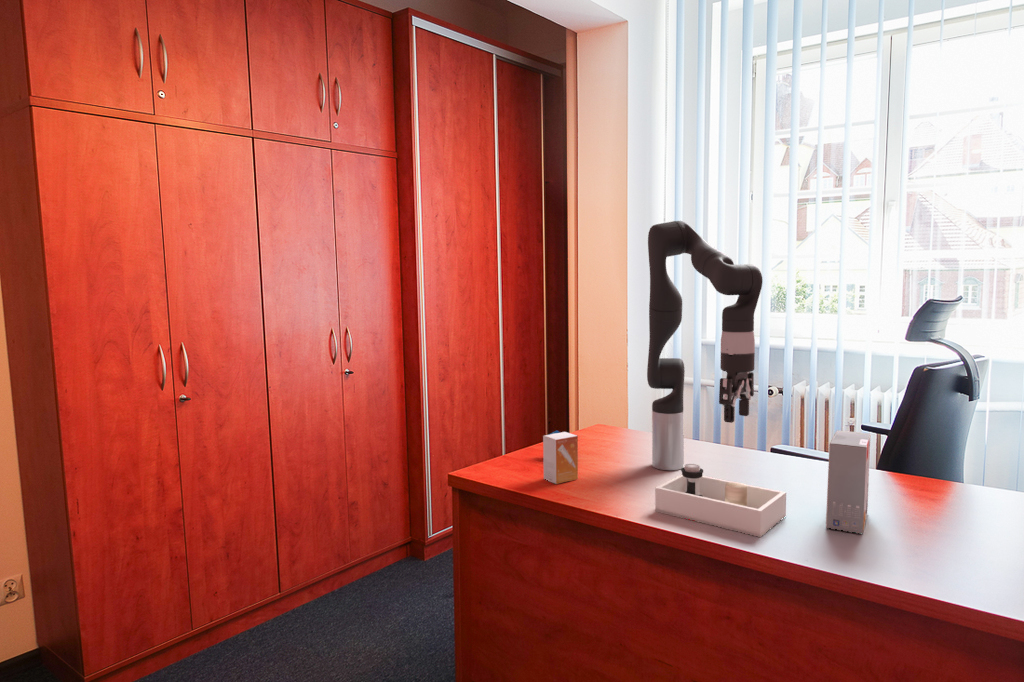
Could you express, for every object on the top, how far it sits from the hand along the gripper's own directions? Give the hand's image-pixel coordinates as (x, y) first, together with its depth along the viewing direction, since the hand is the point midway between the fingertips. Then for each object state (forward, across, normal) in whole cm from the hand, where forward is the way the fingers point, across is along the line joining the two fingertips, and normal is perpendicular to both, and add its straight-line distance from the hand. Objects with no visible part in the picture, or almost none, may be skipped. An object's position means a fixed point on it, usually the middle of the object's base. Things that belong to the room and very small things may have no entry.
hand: (736, 418), depth 153 cm
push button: (+24, 0, -10) cm, 26 cm away
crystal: (+24, -15, -64) cm, 70 cm away
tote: (+24, 0, -4) cm, 24 cm away
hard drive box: (+24, -14, +21) cm, 35 cm away
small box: (+24, +2, -51) cm, 57 cm away
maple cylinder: (+23, 0, 0) cm, 23 cm away
